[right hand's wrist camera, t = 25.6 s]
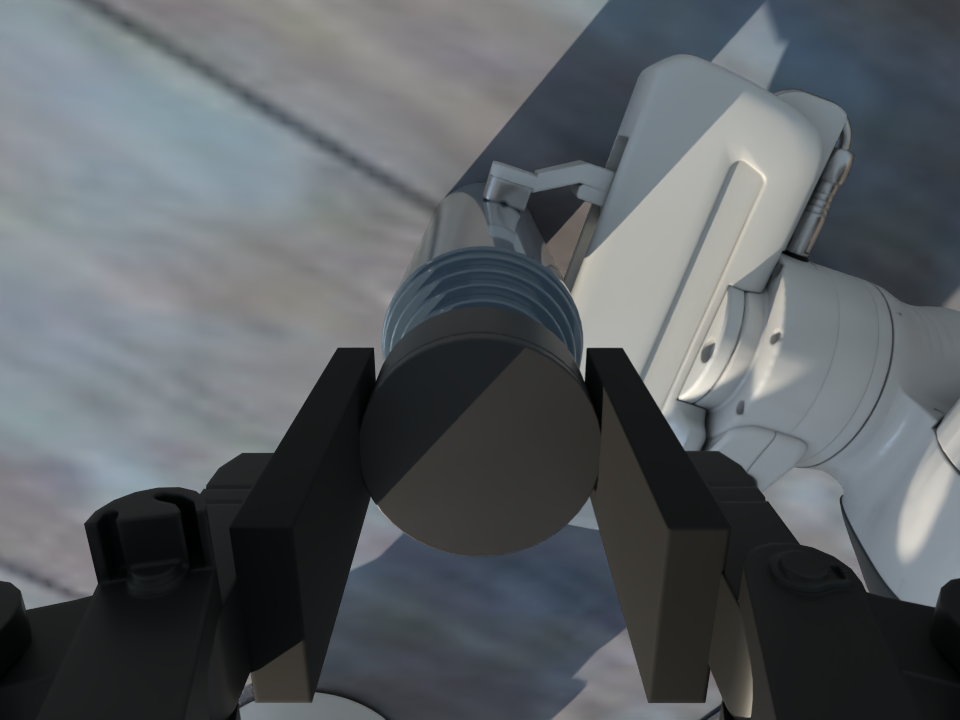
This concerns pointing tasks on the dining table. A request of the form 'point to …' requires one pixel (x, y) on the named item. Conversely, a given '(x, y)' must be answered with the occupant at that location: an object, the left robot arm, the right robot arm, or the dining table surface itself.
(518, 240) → the bottle
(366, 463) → the cap
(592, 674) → the dining table surface
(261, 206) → the dining table surface
